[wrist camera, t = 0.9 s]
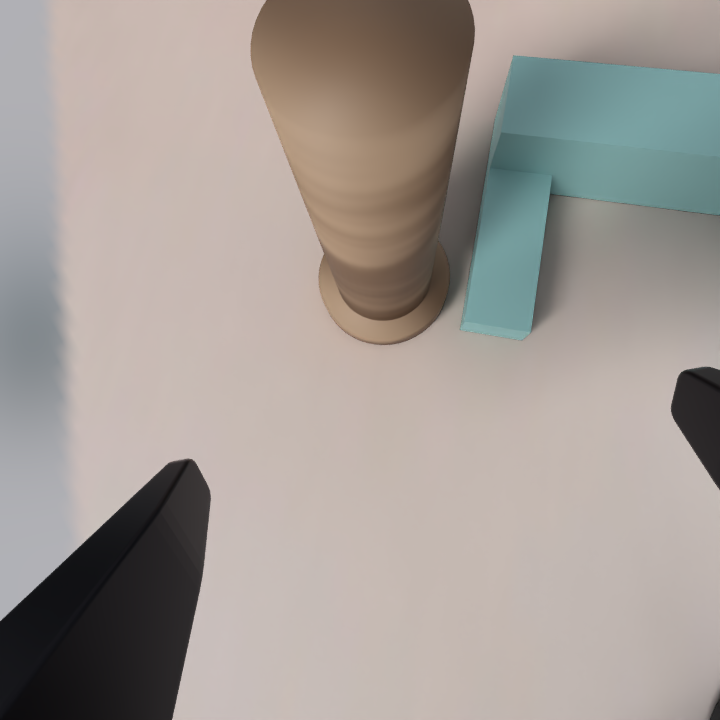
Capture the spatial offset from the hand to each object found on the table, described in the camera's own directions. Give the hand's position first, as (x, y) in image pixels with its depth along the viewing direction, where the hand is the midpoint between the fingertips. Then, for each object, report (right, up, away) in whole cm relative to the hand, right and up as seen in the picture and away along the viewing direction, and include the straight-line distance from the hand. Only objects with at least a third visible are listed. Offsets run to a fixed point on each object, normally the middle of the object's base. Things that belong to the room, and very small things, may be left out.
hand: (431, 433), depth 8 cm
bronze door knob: (0, +5, +14) cm, 15 cm away
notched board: (+13, +7, +14) cm, 20 cm away
